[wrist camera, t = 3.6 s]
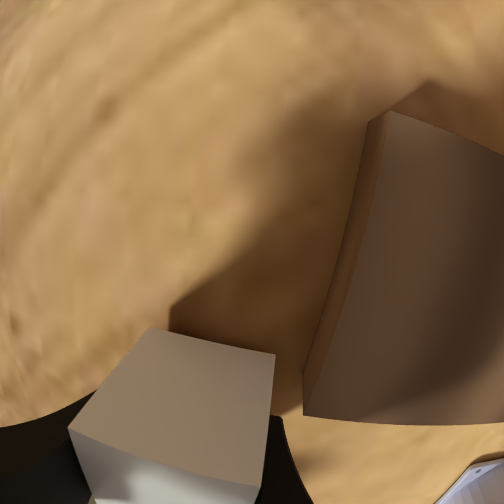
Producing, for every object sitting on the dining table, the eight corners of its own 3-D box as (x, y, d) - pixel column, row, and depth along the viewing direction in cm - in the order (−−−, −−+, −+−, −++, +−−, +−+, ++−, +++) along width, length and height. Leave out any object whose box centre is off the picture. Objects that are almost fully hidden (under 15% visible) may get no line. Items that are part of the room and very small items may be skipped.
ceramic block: (275, 354, 12) (261, 486, 6) (253, 438, 13) (234, 548, 7) (149, 326, 12) (67, 427, 6) (150, 413, 13) (98, 508, 8)
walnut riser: (550, 199, 10) (592, 210, 7) (480, 386, 12) (503, 422, 10) (365, 123, 10) (390, 110, 7) (302, 367, 13) (303, 415, 10)
